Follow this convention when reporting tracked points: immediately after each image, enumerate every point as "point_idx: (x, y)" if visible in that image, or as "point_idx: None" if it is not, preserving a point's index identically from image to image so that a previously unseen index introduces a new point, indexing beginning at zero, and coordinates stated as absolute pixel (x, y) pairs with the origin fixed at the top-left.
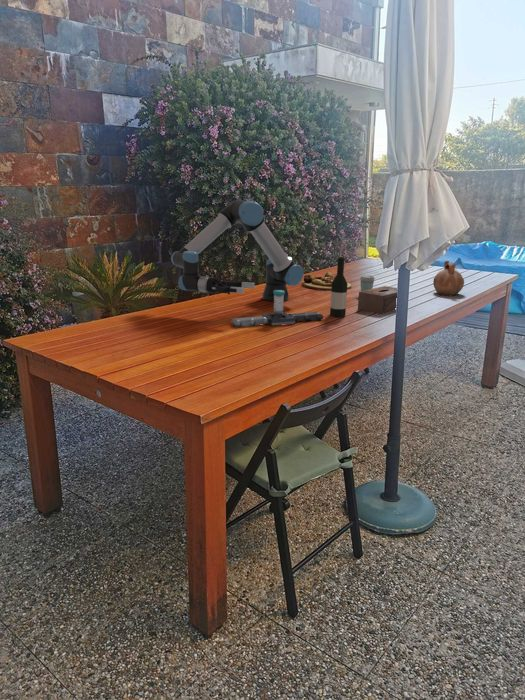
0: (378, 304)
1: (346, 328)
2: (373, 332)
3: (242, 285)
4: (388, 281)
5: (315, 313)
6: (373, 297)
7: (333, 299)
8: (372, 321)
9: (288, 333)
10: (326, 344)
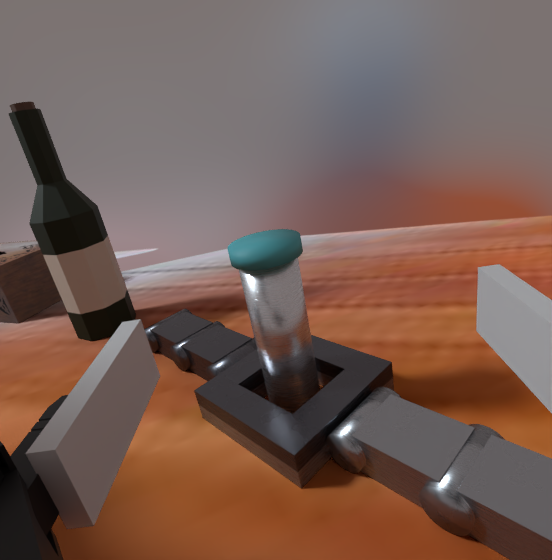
0: None
1: None
2: None
3: (86, 481)
4: None
5: (176, 320)
6: None
7: (104, 270)
8: (170, 273)
9: (445, 316)
10: (458, 246)
